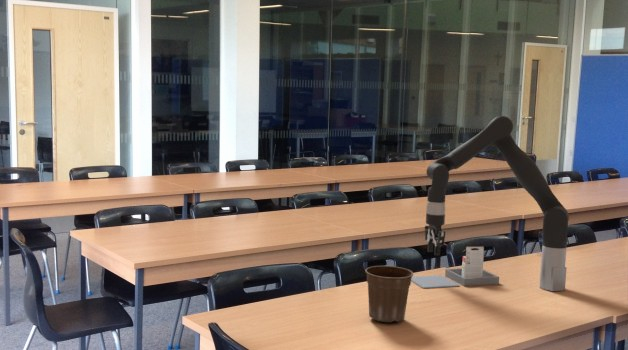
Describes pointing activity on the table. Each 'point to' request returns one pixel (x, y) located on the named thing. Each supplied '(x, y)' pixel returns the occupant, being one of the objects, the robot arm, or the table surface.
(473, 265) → the ink box
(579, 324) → the table surface
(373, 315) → the plant pot
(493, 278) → the desk holder
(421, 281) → the slate mat
